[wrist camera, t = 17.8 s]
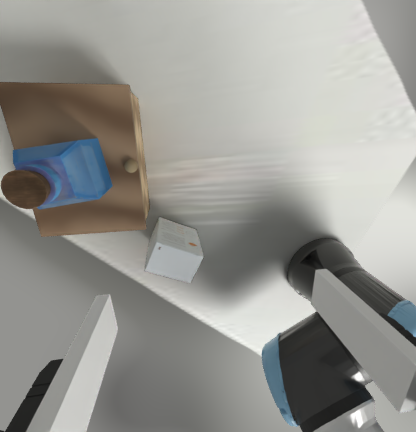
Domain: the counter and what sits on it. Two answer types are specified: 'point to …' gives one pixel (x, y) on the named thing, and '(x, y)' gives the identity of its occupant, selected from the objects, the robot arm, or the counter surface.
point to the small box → (174, 251)
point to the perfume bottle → (57, 175)
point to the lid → (81, 130)
